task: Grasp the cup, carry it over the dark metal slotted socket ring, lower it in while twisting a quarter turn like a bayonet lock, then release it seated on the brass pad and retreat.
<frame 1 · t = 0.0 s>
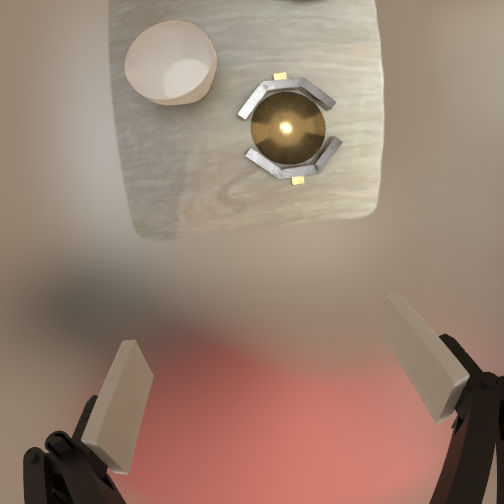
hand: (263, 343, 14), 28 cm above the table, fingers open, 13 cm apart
socket: (288, 127, 36), on the table
cup: (187, 81, 34), on the table
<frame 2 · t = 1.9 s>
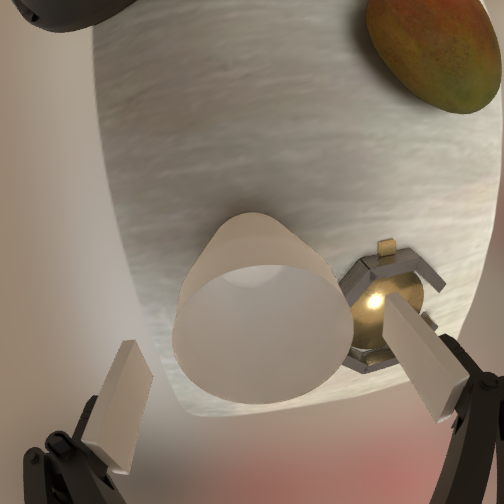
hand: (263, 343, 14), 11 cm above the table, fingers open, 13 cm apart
socket: (383, 310, 28), on the table
cup: (251, 250, 25), on the table
fruit: (410, 49, 18), on the table
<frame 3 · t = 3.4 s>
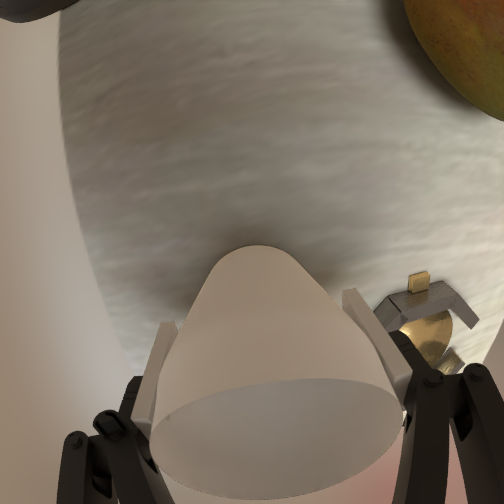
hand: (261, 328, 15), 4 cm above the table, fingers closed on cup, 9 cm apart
socket: (407, 350, 22), on the table
cup: (256, 291, 19), on the table, touching gripper
fruit: (448, 42, 13), on the table
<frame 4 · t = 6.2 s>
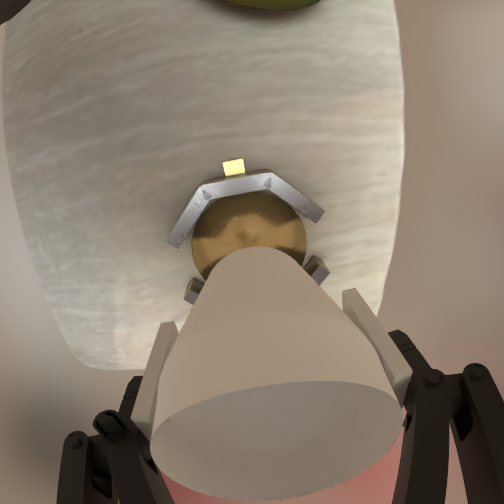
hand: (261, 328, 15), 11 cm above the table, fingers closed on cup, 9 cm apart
socket: (249, 247, 26), on the table
cup: (256, 292, 19), point 7 cm above the table, touching gripper
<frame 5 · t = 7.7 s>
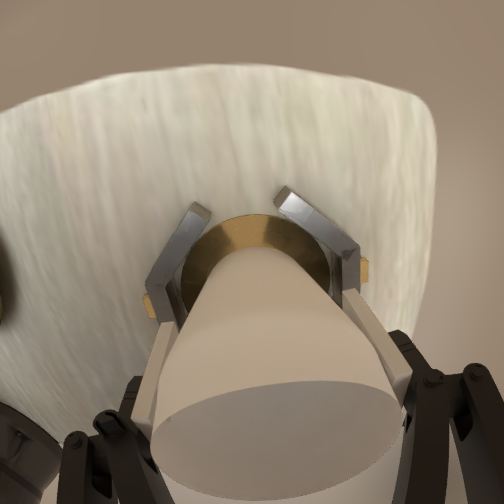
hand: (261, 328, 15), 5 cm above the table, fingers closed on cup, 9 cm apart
socket: (256, 288, 20), on the table
cup: (256, 292, 19), resting on socket, touching gripper
when the fingers open (4 cm above the table, at t = 9.0 s): cup stays where it is, resting on socket.
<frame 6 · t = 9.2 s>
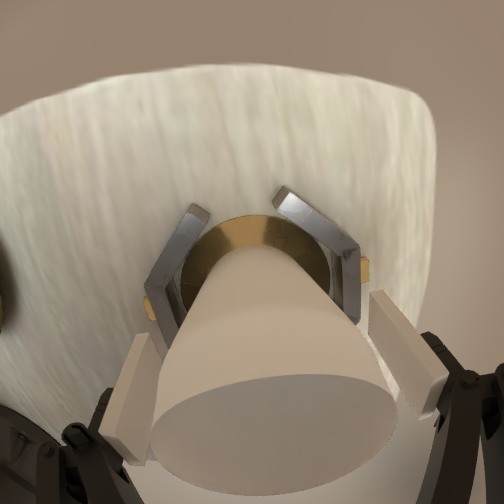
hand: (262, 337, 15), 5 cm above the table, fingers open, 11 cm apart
socket: (256, 289, 20), on the table
cup: (255, 290, 20), resting on socket
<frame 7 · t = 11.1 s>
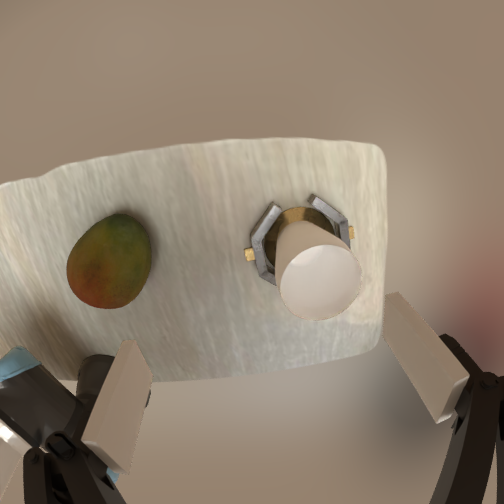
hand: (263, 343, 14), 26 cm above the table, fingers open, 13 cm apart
socket: (300, 242, 40), on the table
cup: (300, 243, 40), resting on socket
fruit: (121, 247, 40), on the table
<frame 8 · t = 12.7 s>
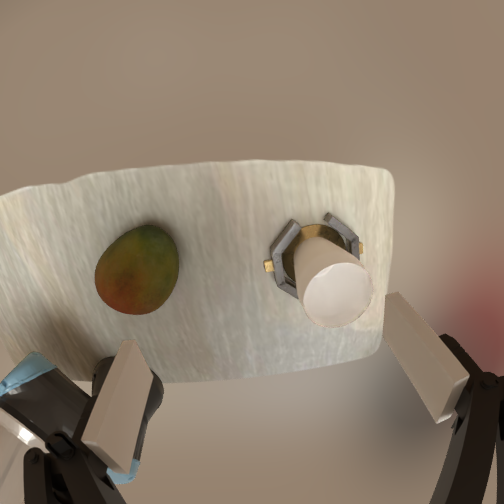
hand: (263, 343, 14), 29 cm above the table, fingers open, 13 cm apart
socket: (314, 256, 44), on the table
cup: (314, 256, 44), resting on socket
fruit: (146, 255, 43), on the table
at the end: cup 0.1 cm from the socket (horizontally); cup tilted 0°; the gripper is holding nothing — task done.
